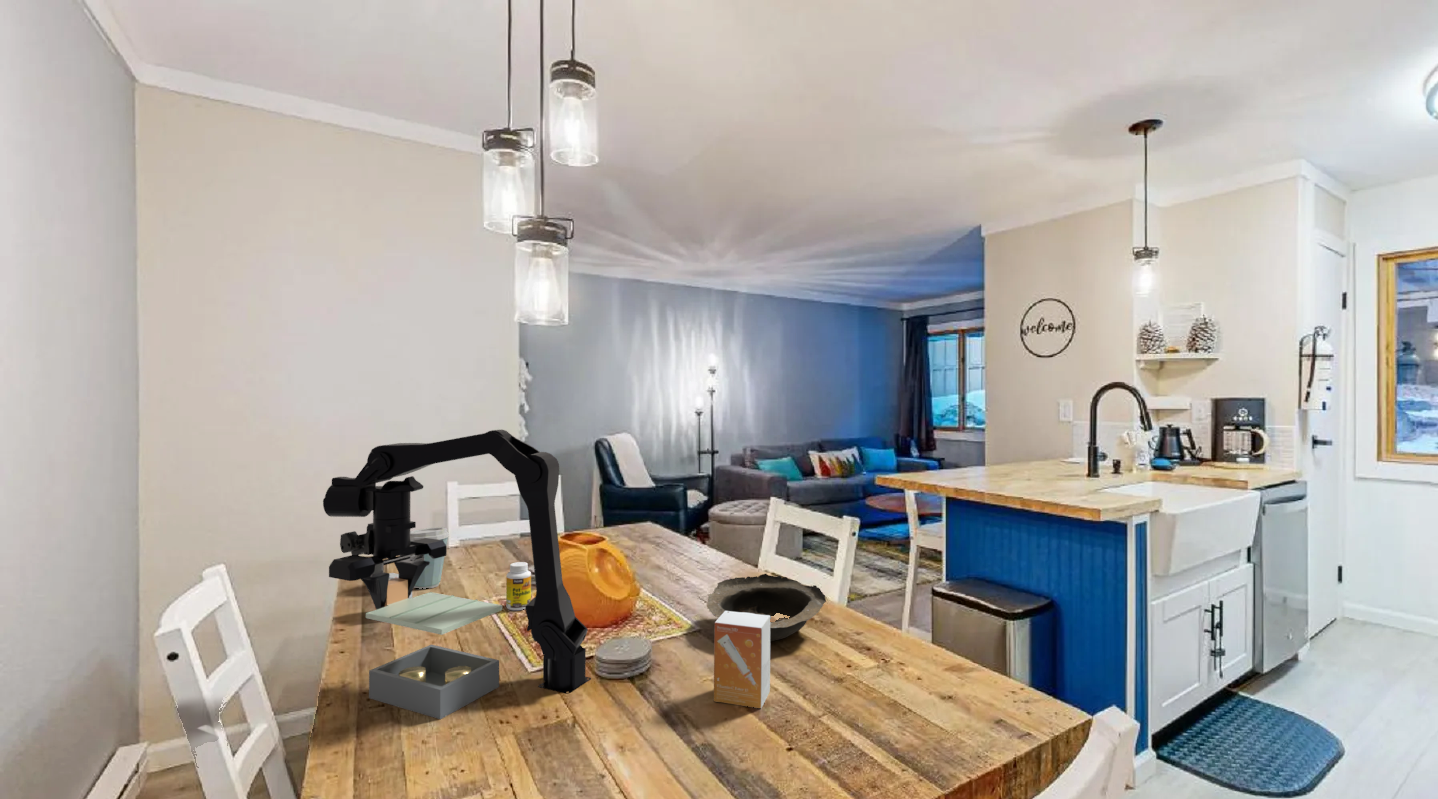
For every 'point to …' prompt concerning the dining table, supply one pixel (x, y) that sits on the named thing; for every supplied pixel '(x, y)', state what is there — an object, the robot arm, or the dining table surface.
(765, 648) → the small box
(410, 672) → the brass part
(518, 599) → the supplement bottle
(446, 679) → the brass part
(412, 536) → the disposable coffee cup
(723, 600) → the stone bowl
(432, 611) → the lid
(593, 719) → the dining table surface
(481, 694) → the tub
